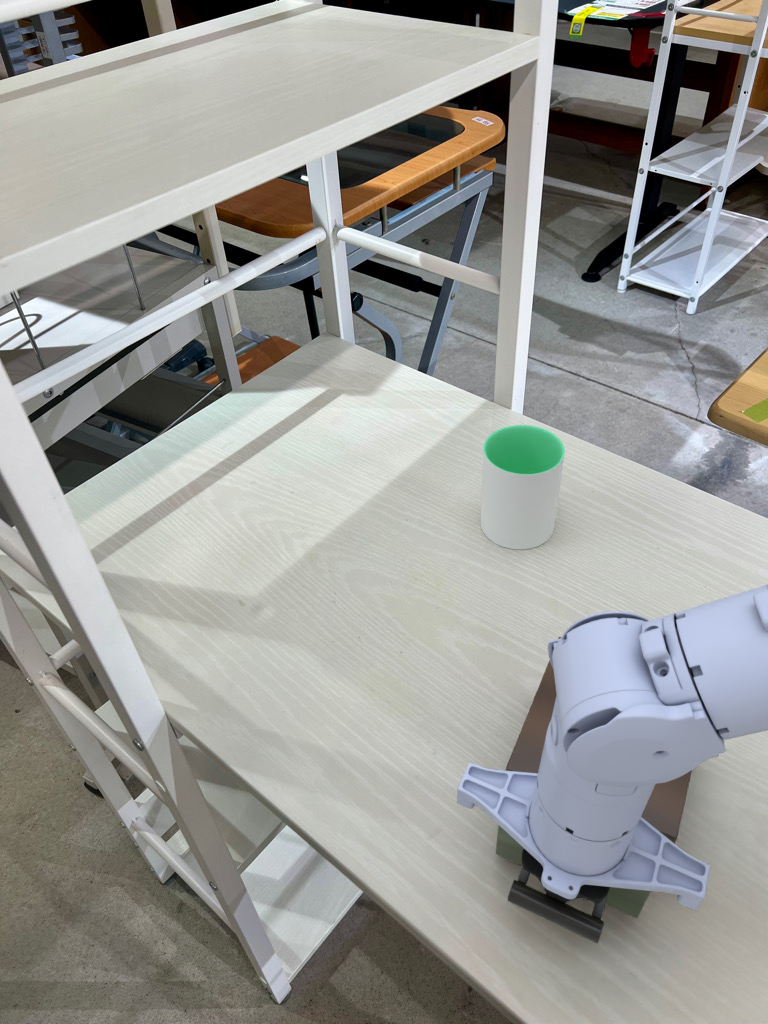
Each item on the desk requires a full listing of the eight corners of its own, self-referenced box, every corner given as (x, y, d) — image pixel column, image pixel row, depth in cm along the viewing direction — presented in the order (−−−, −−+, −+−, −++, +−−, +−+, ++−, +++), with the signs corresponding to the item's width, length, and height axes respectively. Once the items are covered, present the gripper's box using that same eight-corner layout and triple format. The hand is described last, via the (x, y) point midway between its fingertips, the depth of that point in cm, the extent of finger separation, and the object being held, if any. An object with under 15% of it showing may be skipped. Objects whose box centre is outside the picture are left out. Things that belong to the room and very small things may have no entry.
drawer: (622, 981, 49) (640, 947, 44) (474, 908, 53) (476, 870, 48) (670, 776, 59) (689, 731, 54) (543, 728, 63) (550, 681, 58)
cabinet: (652, 890, 54) (677, 839, 48) (499, 822, 58) (505, 768, 52) (685, 745, 62) (710, 686, 56) (549, 695, 66) (558, 635, 60)
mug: (482, 475, 88) (485, 402, 81) (551, 477, 87) (560, 404, 80) (479, 547, 80) (482, 473, 73) (556, 551, 79) (566, 476, 72)
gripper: (438, 797, 41) (435, 892, 50) (717, 924, 36) (656, 1003, 45) (484, 696, 45) (474, 800, 54) (738, 796, 40) (679, 892, 49)
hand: (558, 885), depth 50 cm, fingers closed, pressing on drawer
